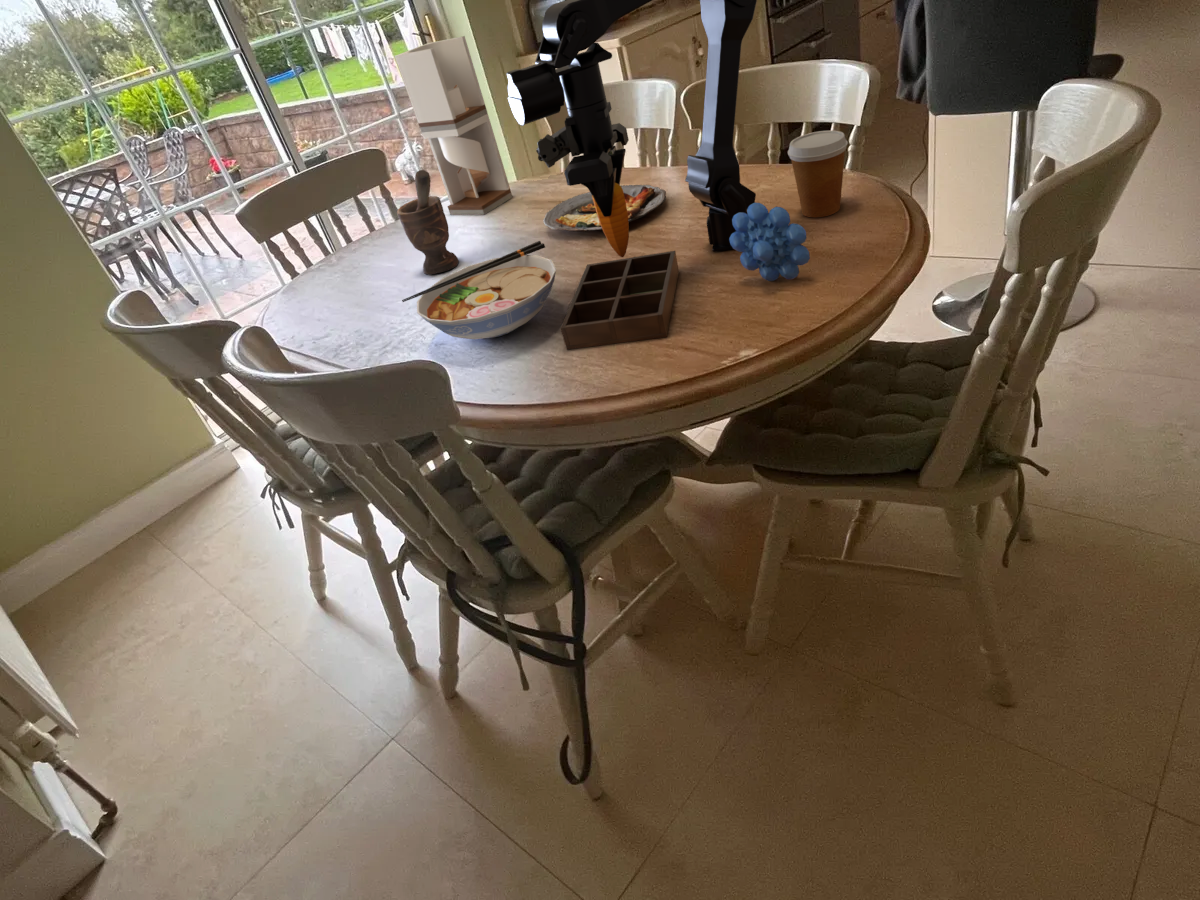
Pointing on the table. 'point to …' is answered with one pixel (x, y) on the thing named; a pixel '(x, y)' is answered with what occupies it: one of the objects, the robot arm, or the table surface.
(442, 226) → the mortar and pestle
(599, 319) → the wooden compartment organizer
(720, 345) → the table surface
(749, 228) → the grapes
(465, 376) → the table surface
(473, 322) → the ramen bowl
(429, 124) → the white wooden shelf
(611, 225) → the carrot
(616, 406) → the table surface
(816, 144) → the disposable coffee cup
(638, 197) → the food plate
